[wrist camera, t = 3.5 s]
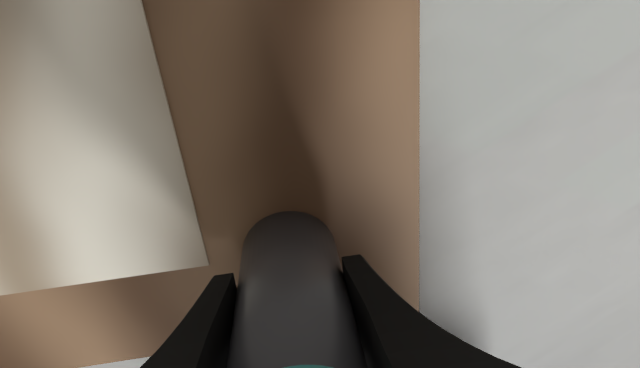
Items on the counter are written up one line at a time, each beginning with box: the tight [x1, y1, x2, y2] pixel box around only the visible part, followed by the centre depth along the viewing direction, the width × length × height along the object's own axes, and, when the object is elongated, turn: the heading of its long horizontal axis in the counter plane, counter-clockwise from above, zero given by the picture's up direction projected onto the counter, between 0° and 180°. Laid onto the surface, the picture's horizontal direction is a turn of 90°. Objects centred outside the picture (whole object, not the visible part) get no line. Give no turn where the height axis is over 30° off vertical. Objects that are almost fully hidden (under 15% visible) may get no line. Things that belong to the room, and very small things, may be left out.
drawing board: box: [0, 0, 420, 368], centre depth 13 cm, size 20×18×1 cm
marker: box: [227, 211, 368, 368], centre depth 11 cm, size 4×4×8 cm
